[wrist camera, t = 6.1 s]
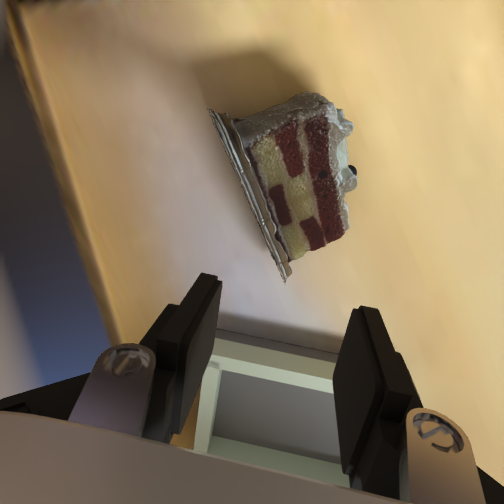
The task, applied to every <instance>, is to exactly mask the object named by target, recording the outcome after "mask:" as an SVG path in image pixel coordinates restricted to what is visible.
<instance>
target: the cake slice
mask: <svg viewBox="0 0 504 504" xmlns="http://www.w3.org/2000/svg"><path fill="white" fill-rule="evenodd" d="M208 110H210V111H209V112H210V116H211V117H212V120H213V124H214V126H215V128H216V130H217V132H218V135H219V137H220V139H221V141H222V143H223V145H224V147H225V150H226V151H225V152H226V153H227V155H229V157H230V159H231V161H232V163H231V164H232V166H233V168H234V170H235V172H236V174H237V176H238V178H239V180H240V183H241V185H242V188H243V189H244V193H245V196H246V198H247V200H248V201H249V204H250V206H251V210H252V211H253V213H254V215H255V217H256V218H257V220H258V223H259V226H260V227H261V231H262V233H263V235H264V237H265V240H266V243H267V246H268V248H269V250H270V253H271V256H272V258H273V260H275V262H276V265H277V267H278V270H279V271H280V274H281V277H282V279H283V282H284V283H285V282H286V279H287V277H288V276H290V275H291V274H292V270H291V268H290V266H289V262H290V261H292V260H296V259H298V258H300V257H302V256H303V255H304V254H305V253H306V252H307V251H314V250H317V249H319V248H321V247H325V246H326V245H327V244H328V243H330V242H332V241H335V240H337V239H339V238H341V237H342V236H343V235H344V233H345V231H346V230H347V229H348V228H349V227H350V226H349V219H348V207H347V204H346V202H345V201H344V195H345V193H347V192H349V191H352V190H354V189H355V188H356V187H357V183H358V179H357V176H356V175H357V170H356V168H355V167H354V166H352V165H348V152H347V141H346V137H348V136H349V135H350V134H351V133H352V131H353V128H354V125H353V123H352V122H350V121H348V120H346V119H345V117H344V113H343V110H342V109H336V107H335V105H334V104H333V103H332V102H329V101H328V100H327V99H326V98H325V97H323V96H321V95H320V94H318V93H311V92H303V93H300V94H298V95H295V96H294V97H293V98H291V99H290V100H289V101H288V102H286V103H284V104H281V105H275V106H273V107H271V108H269V109H267V110H264V111H262V112H260V113H257V114H255V115H252V116H249V117H247V118H244V119H242V118H239V119H237V118H235V119H233V120H232V119H231V118H230V117H229V115H228V114H227V113H224V114H219V113H216V112H214V111H212V110H211V109H208Z"/></svg>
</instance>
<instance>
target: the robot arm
mask: <svg viewBox="0 0 504 504" xmlns="http://www.w3.org/2000/svg"><path fill="white" fill-rule="evenodd" d="M217 279H218V277H217V276H215V275H210V274H205V273H201V274H200V275H199V277H198V278H197V280H196V281H195V283H194V284H193V286H192V287H191V289H190V290H189V292H188V293H187V295H186V296H185V298H184V299H183V301H182V302H181V304H180V305H174V304H168V305H167V306H166V308H165V309H164V310H163V312H162V313H161V314H160V316H159V317H158V318H157V320H156V321H155V323H154V324H153V325H152V327H151V328H150V329H149V331H148V332H147V333H146V335H145V336H144V337H143V339H142V340H141V341H140V343H139V344H134V343H125V344H120V345H115V346H113V347H111V348H108V349H107V350H105V351H104V352H103V353H101V355H100V356H99V357H98V359H97V361H96V363H95V365H94V367H93V369H92V371H91V373H87V374H83V375H80V376H77V377H73V378H70V379H66V380H63V381H60V382H56V383H53V384H50V385H46V386H43V387H40V388H36V389H33V390H30V391H26V392H23V393H19V394H16V395H13V396H10V397H6V398H3V399H1V400H0V504H504V487H503V486H502V485H501V484H499V483H498V482H497V481H496V480H494V479H493V478H492V477H490V476H489V475H488V474H487V473H485V472H484V471H483V470H481V469H480V468H479V467H478V466H476V463H475V459H474V455H473V451H472V447H471V444H470V441H469V439H468V437H467V435H466V434H465V433H464V432H463V430H462V429H461V428H460V427H459V426H458V425H457V424H456V423H455V422H453V421H452V420H451V419H449V418H448V417H446V416H445V415H443V414H441V413H438V412H436V411H434V410H430V409H427V408H423V405H422V403H421V400H420V398H419V396H418V393H417V391H416V388H415V386H414V384H413V381H412V379H411V376H410V374H409V372H408V369H407V367H406V364H405V362H404V360H403V357H402V355H401V354H400V353H398V352H395V350H394V347H393V345H392V342H391V340H390V337H389V335H388V332H387V330H386V327H385V324H384V322H383V319H382V317H381V314H380V312H379V310H378V309H376V308H371V307H366V306H360V307H359V309H355V308H354V309H353V310H352V313H351V316H350V320H349V323H348V326H347V329H346V333H345V336H344V339H343V343H342V346H341V349H340V352H339V356H338V359H337V362H336V366H335V369H334V372H333V379H332V383H333V393H334V402H335V411H336V420H337V429H338V438H339V447H340V457H341V466H342V472H343V474H345V475H349V483H350V488H348V487H344V486H340V485H336V484H332V483H328V482H324V481H320V480H315V479H311V478H307V477H303V476H299V475H295V474H291V473H287V472H283V471H279V470H275V469H270V468H266V467H262V466H258V465H254V464H250V463H246V462H242V461H237V460H233V459H229V458H225V457H221V456H217V455H213V454H208V453H204V452H200V451H196V450H192V449H187V448H183V447H179V446H175V445H170V444H169V443H170V441H171V438H172V436H173V434H174V433H175V434H180V433H181V431H182V428H183V426H184V423H185V421H186V418H187V416H188V413H189V411H190V408H191V406H192V403H193V401H194V398H195V395H196V393H197V390H198V388H199V385H200V383H201V380H202V378H203V375H204V373H205V370H206V368H207V365H208V363H209V360H210V357H211V355H212V351H213V347H214V340H215V333H216V326H217V319H218V312H219V305H220V298H221V290H222V281H219V280H217Z"/></svg>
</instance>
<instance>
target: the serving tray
mask: <svg viewBox="0 0 504 504" xmlns="http://www.w3.org/2000/svg"><path fill="white" fill-rule="evenodd" d="M338 356H339V354H334V353H329V352H325V351H320V350H315V349H310V348H305V347H301V346H296V345H291V344H286V343H281V342H277V341H272V340H267V339H262V338H257V337H253V336H248V335H243V334H238V333H234V332H229V331H224V330H219V329H216V333H215V340H214V347H213V351H212V355H211V357H210V360H209V363H208V365H207V368H206V370H205V373H204V375H203V378H202V385H201V393H200V401H199V409H198V417H197V425H196V433H195V441H194V448H193V450H196V451H200V452H204V453H208V454H213V455H217V456H221V457H225V458H229V459H233V460H237V461H242V462H246V463H250V464H254V465H258V466H262V467H266V468H270V469H275V470H279V471H283V472H287V473H291V474H295V475H299V476H303V477H307V478H311V479H315V480H320V481H324V482H328V483H332V484H336V485H340V486H344V487H348V488H350V483H349V475H345V474H343V472H342V466H341V457H340V447H339V438H338V429H337V420H336V411H335V402H334V393H333V383H332V379H333V372H334V369H335V366H336V362H337V359H338ZM408 372H409V370H408ZM409 374H410V373H409ZM410 376H411V375H410ZM411 379H412V377H411ZM412 381H413V380H412ZM413 384H414V382H413ZM414 386H415V385H414ZM415 388H416V387H415ZM416 391H417V389H416ZM417 393H418V392H417ZM418 396H419V394H418ZM419 398H420V397H419Z"/></svg>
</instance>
